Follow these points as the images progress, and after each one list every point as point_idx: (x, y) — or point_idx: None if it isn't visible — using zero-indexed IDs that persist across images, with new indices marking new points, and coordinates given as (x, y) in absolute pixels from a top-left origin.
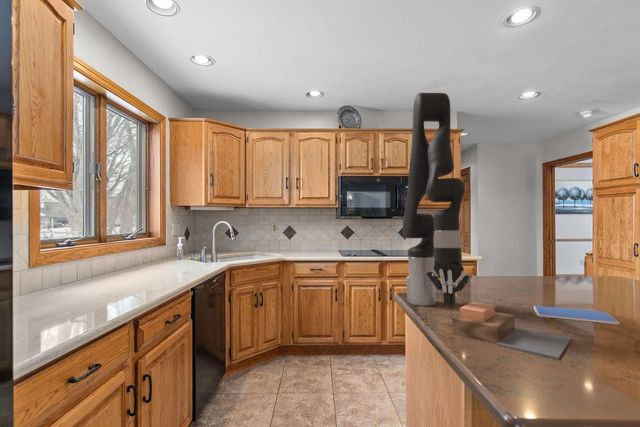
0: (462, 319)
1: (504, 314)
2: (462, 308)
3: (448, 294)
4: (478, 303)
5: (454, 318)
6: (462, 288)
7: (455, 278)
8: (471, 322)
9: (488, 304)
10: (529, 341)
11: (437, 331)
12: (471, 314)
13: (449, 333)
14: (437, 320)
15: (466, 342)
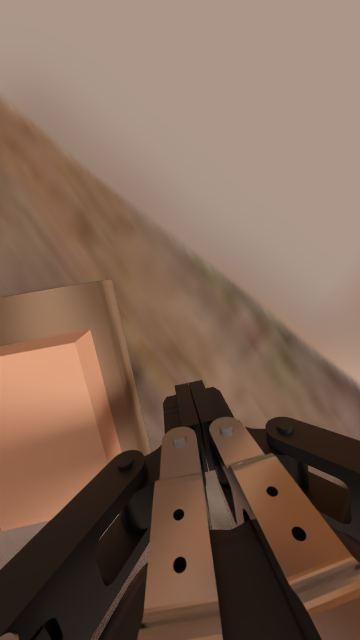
0: (59, 305)
1: None
2: (58, 345)
3: (191, 419)
4: None
5: (92, 289)
6: (109, 528)
7: (118, 605)
8: (4, 297)
9: (32, 520)
10: None
11: (164, 256)
12: (20, 346)
13: (122, 272)
14: (242, 369)
15: (22, 233)
